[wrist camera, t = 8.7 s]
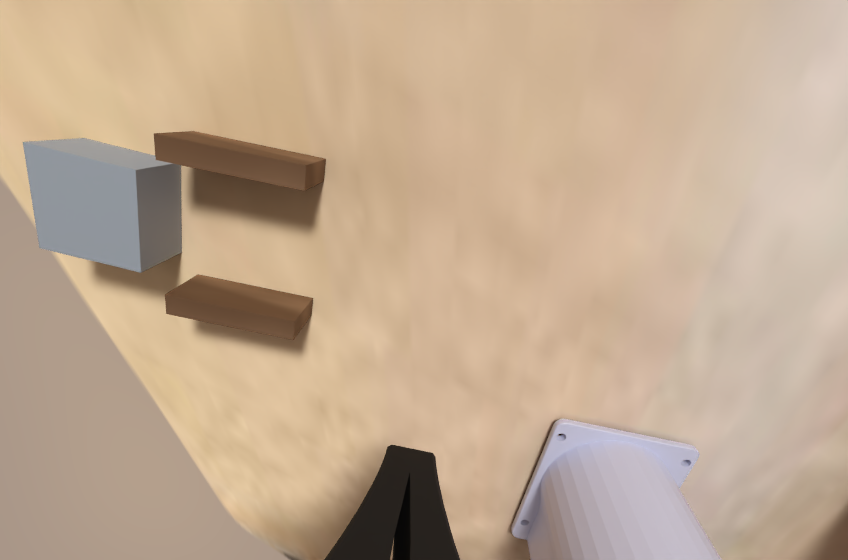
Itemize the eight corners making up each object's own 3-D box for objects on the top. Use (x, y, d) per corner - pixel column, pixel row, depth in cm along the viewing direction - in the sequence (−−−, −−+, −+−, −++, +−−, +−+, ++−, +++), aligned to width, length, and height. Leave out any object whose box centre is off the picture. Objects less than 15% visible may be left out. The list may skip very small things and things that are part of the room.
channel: (311, 315, 21) (293, 340, 19) (198, 291, 21) (166, 313, 19) (325, 158, 18) (306, 165, 15) (193, 131, 18) (154, 133, 15)
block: (184, 251, 20) (140, 272, 18) (96, 229, 20) (39, 247, 17) (183, 161, 19) (135, 170, 16) (88, 138, 18) (22, 141, 16)
